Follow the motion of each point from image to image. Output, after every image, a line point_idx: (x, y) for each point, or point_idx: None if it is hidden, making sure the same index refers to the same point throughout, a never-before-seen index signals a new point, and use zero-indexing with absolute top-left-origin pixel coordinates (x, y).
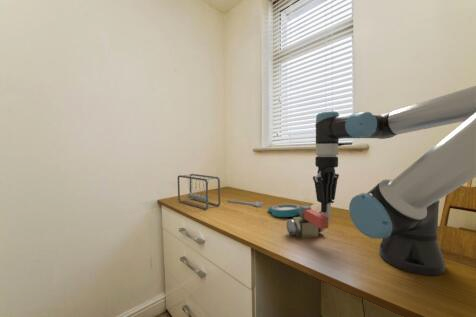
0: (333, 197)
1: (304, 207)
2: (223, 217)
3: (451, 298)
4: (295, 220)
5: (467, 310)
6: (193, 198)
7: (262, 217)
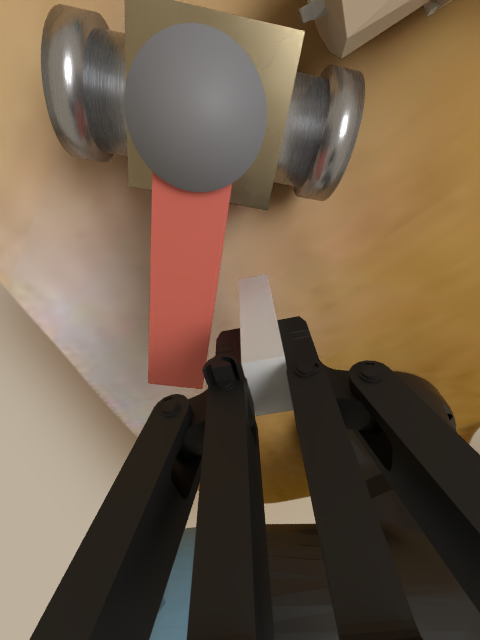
0: (368, 437)
1: (175, 128)
2: None
3: (277, 490)
4: (107, 97)
5: (264, 503)
6: None
7: None
